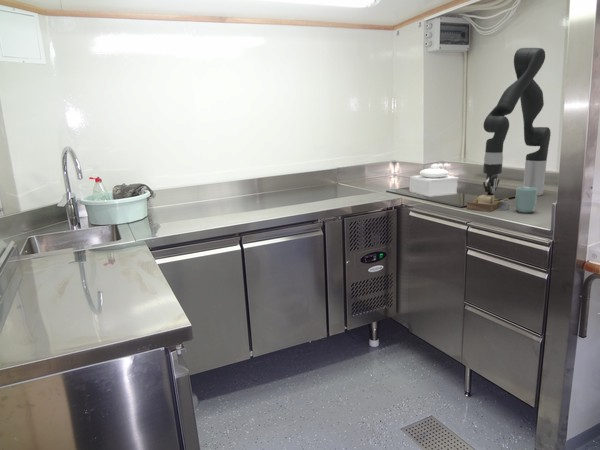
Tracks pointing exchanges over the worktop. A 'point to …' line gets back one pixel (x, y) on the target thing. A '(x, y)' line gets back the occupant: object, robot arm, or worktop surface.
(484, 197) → the block
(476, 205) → the beam rails
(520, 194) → the cup
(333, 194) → the worktop surface
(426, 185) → the butter dish
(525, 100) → the robot arm
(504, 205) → the block
